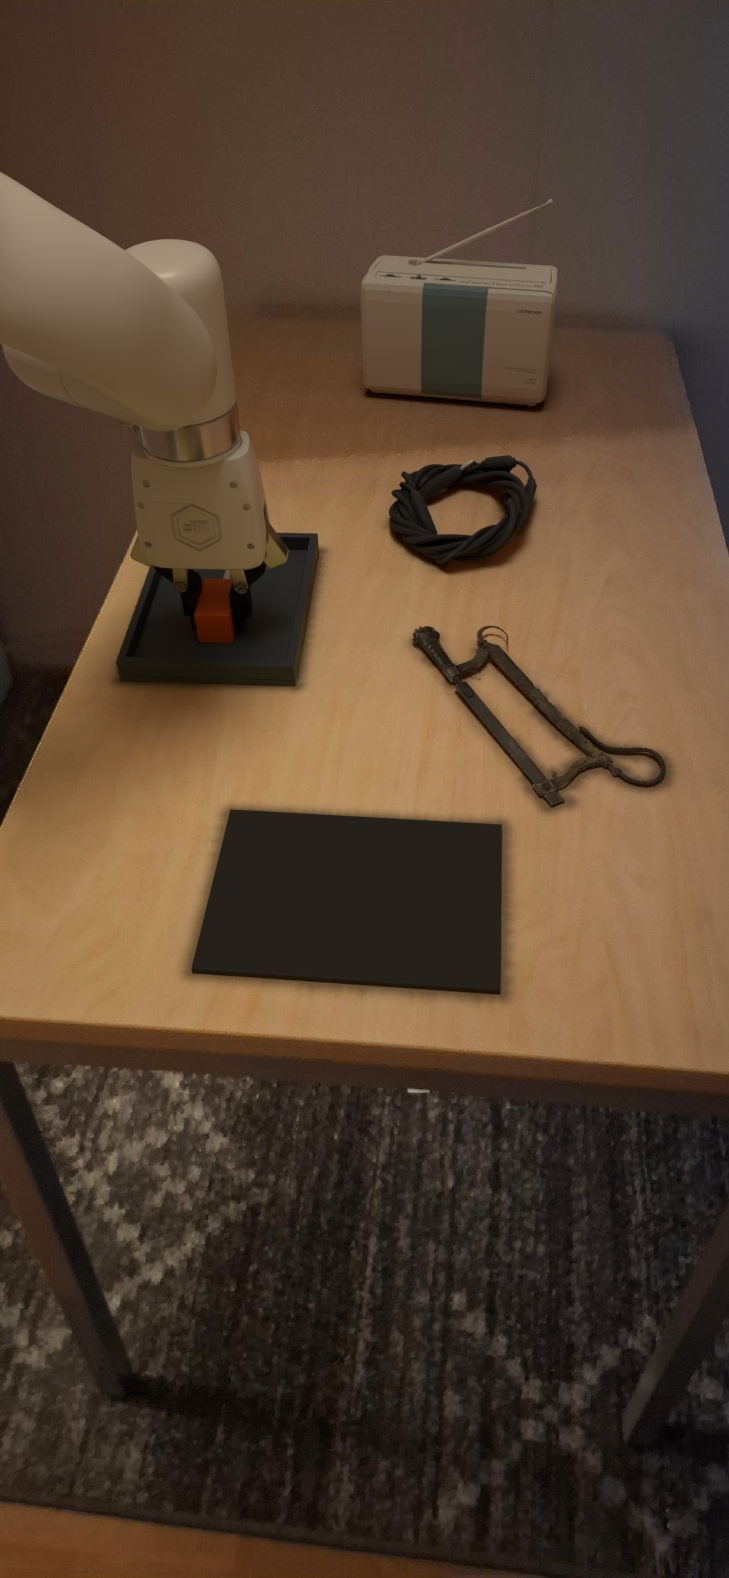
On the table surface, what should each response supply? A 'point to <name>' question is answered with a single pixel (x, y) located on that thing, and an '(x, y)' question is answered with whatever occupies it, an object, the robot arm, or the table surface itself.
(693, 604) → the table surface
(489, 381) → the radio
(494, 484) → the cable
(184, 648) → the tray
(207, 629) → the screwdriver
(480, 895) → the mat
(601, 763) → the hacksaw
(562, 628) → the table surface
